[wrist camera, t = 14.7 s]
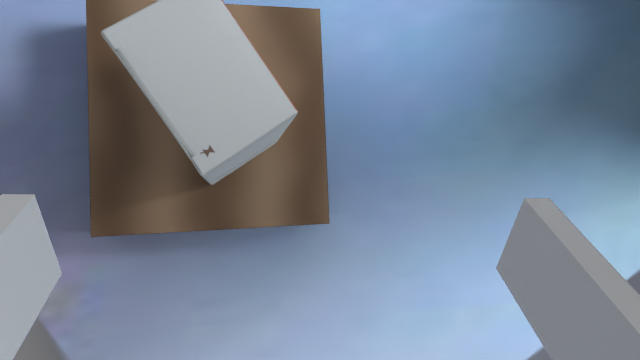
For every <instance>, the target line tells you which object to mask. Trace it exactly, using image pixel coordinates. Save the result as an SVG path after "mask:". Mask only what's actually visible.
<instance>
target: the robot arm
mask: <svg viewBox="0 0 640 360" xmlns="http://www.w3.org/2000/svg"><path fill="white" fill-rule="evenodd" d="M496 269H497V271H498V272H499V274H500V276H501V277H502V279H503V281H504V282H505V284H506V285H507V287H508V289H509V290H510V292H511V294H512V295H513V297H514V299H515V300H516V302H517V304H518V305H519V307H520V308H521V310H522V312H523V313H524V315H525V317H526V318H527V320H528V322H529V323H530V325H531V327H532V328H533V330H534V331H535V333H536V335H537V336H538V338H539V340H540V341H541V343H542V345H543V346H544V348H545V349H546V351H547V353H548V355H549V356H550V357H551V359H552V360H640V295H639V294H638V293H637V292H636V291H635V290H634V289H633V288H632V287H631V285H630V284H629V283H628V282H627V281H626V280H625V279H624V278H623V277H622V276H621V275H620V274H619V273H618V272H617V270H616V269H615V268H614V267H613V266H612V265H611V264H610V263H609V262H608V261H607V260H606V259H605V258H604V257H603V255H602V254H601V253H600V252H599V251H598V250H597V249H596V248H595V247H594V246H593V245H592V244H591V243H590V242H589V240H588V239H587V238H586V237H585V236H584V235H583V234H582V233H581V232H580V231H579V230H578V229H577V228H576V226H575V225H574V224H573V223H572V222H571V221H570V220H569V219H568V218H567V217H566V216H565V215H564V214H563V213H562V211H561V210H560V209H559V208H558V207H557V206H556V205H555V204H554V203H553V202H552V201H551V200H550V199H549V198H524V201H523V203H522V206H521V208H520V211H519V213H518V215H517V218H516V220H515V223H514V225H513V228H512V230H511V233H510V235H509V238H508V240H507V243H506V245H505V248H504V250H503V253H502V255H501V258H500V260H499V262H498V265H497V267H496ZM61 275H62V272H61V269H60V266H59V263H58V260H57V257H56V254H55V252H54V249H53V246H52V243H51V240H50V237H49V234H48V232H47V229H46V226H45V223H44V220H43V217H42V214H41V212H40V209H39V206H38V203H37V200H36V197H35V194H1V195H0V360H13V358H14V357H15V355H16V353H17V351H18V349H19V348H20V346H21V344H22V343H23V341H24V339H25V338H26V336H27V334H28V332H29V331H30V329H31V327H32V325H33V324H34V322H35V320H36V318H37V317H38V315H39V313H40V311H41V310H42V308H43V306H44V304H45V303H46V301H47V299H48V297H49V296H50V294H51V292H52V290H53V289H54V287H55V285H56V283H57V282H58V280H59V278H60V277H61Z"/></svg>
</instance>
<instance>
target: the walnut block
mask: <svg viewBox="0 0 640 360" xmlns="http://www.w3.org/2000/svg"><path fill="white" fill-rule="evenodd" d="M157 1H158V0H86V18H87V67H88V116H89V165H90V214H91V237H99V236H117V235H134V234H152V233H169V232H187V231H204V230H222V229H240V228H257V227H275V226H292V225H310V224H328V223H329V203H328V181H327V158H326V136H325V113H324V91H323V68H322V46H321V23H320V9H309V8H290V7H272V6H253V5H234V4H225V5H226V6H227V8H228V9H229V11H230V12H231V14H232V15H233V17H234V18H235V20H236V21H237V23H238V24H239V26H240V27H241V28H242V30H243V31H244V33H245V34H246V36H247V37H248V39H249V40H250V42H251V43H252V45H253V46H254V48H255V49H256V51H257V52H258V53H259V55H260V56H261V58H262V59H263V61H264V62H265V64H266V65H267V67H268V68H269V70H270V71H271V73H272V74H273V76H274V77H275V79H276V80H277V81H278V83H279V84H280V86H281V87H282V89H283V90H284V92H285V93H286V95H287V96H288V98H289V99H290V101H291V102H292V103H293V105H294V106H295V108H296V109H297V111H298V113H297V115H296V116H295V118H294V119H293V121H292V122H291V123H290V125H289V126H288V127H287V129H286V130H285V131H284V133H283V134H282V135H281V137H280V138H279V140H278V141H277V142H276V143H275V144H274V145H272V146H271V147H269V148H268V149H266V150H265V151H263V152H262V153H260V154H259V155H257V156H256V157H254V158H253V159H251V160H250V161H248V162H247V163H245V164H244V165H242V166H241V167H239V168H238V169H236V170H235V171H233V172H232V173H230V174H229V175H227V176H226V177H224V178H222V179H221V180H219V181H218V182H216V183H215V184H214V185H211V184H210V183H208V182H207V181H206V180H205V179H204V178H203V177H202V176H201V175H200V174H199V173H198V171H197V169H196V168H195V166H194V165H193V163H192V162H191V160H190V159H189V157H188V156H187V154H186V153H185V152H184V150H183V149H182V147H181V146H180V144H179V143H178V142H177V140H176V139H175V137H174V136H173V134H172V133H171V131H170V130H169V129H168V127H167V126H166V124H165V123H164V121H163V120H162V119H161V117H160V116H159V114H158V113H157V112H156V110H155V109H154V107H153V106H152V104H151V103H150V102H149V100H148V99H147V97H146V96H145V94H144V93H143V92H142V90H141V89H140V87H139V86H138V85H137V83H136V82H135V80H134V79H133V77H132V76H131V75H130V73H129V72H128V71H127V69H126V68H125V66H124V65H123V64H122V62H121V61H120V59H119V58H118V57H117V55H116V54H115V53H114V51H113V50H112V49H111V47H110V46H109V45H108V43H107V42H106V41H105V39H104V38H103V37H102V35H101V32H102V30H104V29H105V28H107V27H109V26H111V25H113V24H115V23H117V22H119V21H121V20H123V19H124V18H126V17H128V16H130V15H132V14H134V13H136V12H138V11H140V10H141V9H143V8H145V7H147V6H149V5H151V4H153V3H155V2H157Z"/></svg>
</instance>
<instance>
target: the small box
mask: <svg viewBox="0 0 640 360" xmlns="http://www.w3.org/2000/svg"><path fill="white" fill-rule="evenodd" d="M101 35H102V37H103V38H104V39H105V41H106V42H107V43H108V45H109V46H110V47H111V49H112V50H113V51H114V53H115V54H116V55H117V57H118V58H119V59H120V61H121V62H122V64H123V65H124V66H125V68H126V69H127V71H128V72H129V73H130V75H131V76H132V77H133V79H134V80H135V82H136V83H137V85H138V86H139V87H140V89H141V90H142V92H143V93H144V94H145V96H146V97H147V99H148V100H149V102H150V103H151V104H152V106H153V107H154V109H155V110H156V112H157V113H158V114H159V116H160V117H161V119H162V120H163V121H164V123H165V124H166V126H167V127H168V129H169V130H170V131H171V133H172V134H173V136H174V137H175V139H176V140H177V142H178V143H179V144H180V146H181V147H182V149H183V150H184V152H185V153H186V154H187V156H188V157H189V159H190V160H191V162H192V163H193V165H194V166H195V168H196V169H197V171H198V173H199V174H200V175H201V176H202V177H203V178H204V179H205V180H206V181H207V182H208V183H210V184H211V185H214V184H215V183H216V182H218V181H219V180H221V179H222V178H224V177H226V176H227V175H229V174H230V173H232V172H233V171H235V170H236V169H238V168H239V167H241V166H242V165H244V164H245V163H247V162H248V161H250V160H251V159H253V158H254V157H256V156H257V155H259V154H260V153H262V152H263V151H265V150H266V149H268V148H269V147H271V146H272V145H274V144H275V143H276V142H277V141H278V140H279V138H280V137H281V135H282V134H283V133H284V131H285V130H286V129H287V127H288V126H289V125H290V123H291V122H292V121H293V119H294V118H295V116H296V115H297V113H298V111H297V109H296V108H295V106H294V105H293V103H292V102H291V101H290V99H289V98H288V96H287V95H286V93H285V92H284V90H283V89H282V87H281V86H280V84H279V83H278V81H277V80H276V79H275V77H274V76H273V74H272V73H271V71H270V70H269V68H268V67H267V65H266V64H265V62H264V61H263V59H262V58H261V56H260V55H259V53H258V52H257V51H256V49H255V48H254V46H253V45H252V43H251V42H250V40H249V39H248V37H247V36H246V34H245V33H244V31H243V30H242V28H241V27H240V26H239V24H238V23H237V21H236V20H235V18H234V17H233V15H232V14H231V12H230V11H229V9H228V8H227V6H226V5H225V3H224V2H223V0H158V1H157V2H155V3H153V4H151V5H149V6H147V7H145V8H143V9H141V10H140V11H138V12H136V13H134V14H132V15H130V16H128V17H126V18H124V19H123V20H121V21H119V22H117V23H115V24H113V25H111V26H109V27H107V28H105V29H104V30H102V32H101Z"/></svg>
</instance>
